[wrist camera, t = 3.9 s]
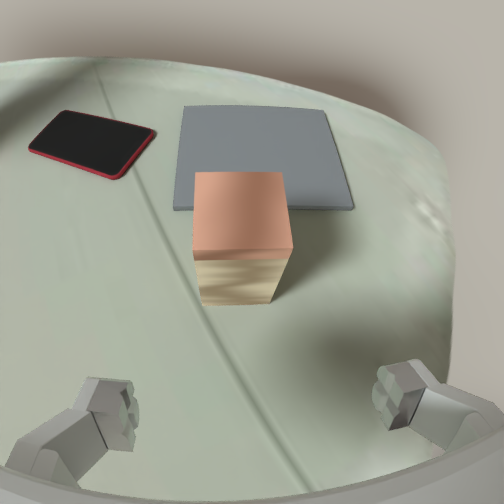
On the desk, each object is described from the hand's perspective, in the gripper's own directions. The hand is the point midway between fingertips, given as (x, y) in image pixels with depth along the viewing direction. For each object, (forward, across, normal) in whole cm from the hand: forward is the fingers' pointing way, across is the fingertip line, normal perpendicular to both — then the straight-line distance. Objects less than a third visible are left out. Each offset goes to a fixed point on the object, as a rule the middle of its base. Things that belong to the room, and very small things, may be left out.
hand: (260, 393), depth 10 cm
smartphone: (+27, +16, -9) cm, 33 cm away
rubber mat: (+25, -3, -7) cm, 26 cm away
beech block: (+16, 0, +2) cm, 16 cm away
